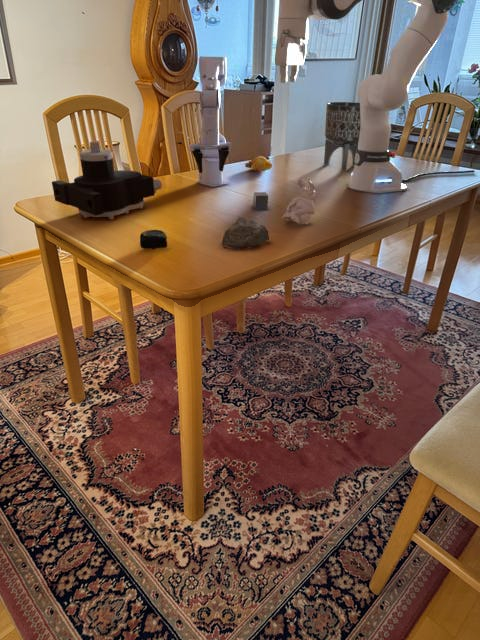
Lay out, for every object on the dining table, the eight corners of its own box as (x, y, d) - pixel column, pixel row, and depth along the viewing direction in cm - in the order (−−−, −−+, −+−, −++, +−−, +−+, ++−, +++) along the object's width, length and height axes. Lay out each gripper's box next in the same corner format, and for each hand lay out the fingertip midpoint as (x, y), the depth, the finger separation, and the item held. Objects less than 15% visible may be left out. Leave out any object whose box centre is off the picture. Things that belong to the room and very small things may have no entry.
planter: (313, 167, 208) (319, 103, 195) (331, 160, 222) (338, 101, 209) (353, 173, 199) (362, 107, 185) (369, 166, 213) (379, 104, 199)
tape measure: (140, 252, 115) (139, 238, 113) (141, 242, 120) (140, 229, 119) (167, 251, 116) (166, 237, 114) (167, 241, 121) (166, 228, 120)
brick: (255, 210, 149) (255, 195, 146) (252, 206, 153) (253, 192, 150) (267, 209, 149) (268, 195, 147) (264, 206, 153) (265, 192, 151)
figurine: (321, 218, 142) (325, 177, 135) (298, 231, 131) (302, 187, 125) (298, 213, 146) (301, 173, 139) (274, 225, 135) (277, 182, 128)
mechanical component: (44, 141, 131) (128, 131, 151) (57, 212, 142) (134, 194, 162) (86, 151, 119) (172, 139, 139) (97, 228, 130) (175, 206, 150)
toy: (243, 164, 194) (247, 156, 207) (248, 178, 197) (252, 170, 210) (268, 155, 191) (270, 148, 204) (272, 170, 194) (275, 162, 206)
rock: (255, 233, 128) (256, 211, 124) (276, 242, 122) (278, 219, 119) (217, 244, 120) (217, 220, 117) (239, 254, 115) (239, 230, 111)
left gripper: (193, 132, 146) (194, 175, 153) (234, 130, 151) (234, 172, 158) (186, 129, 152) (188, 171, 159) (227, 127, 157) (227, 168, 164)
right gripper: (292, 29, 128) (287, 83, 135) (310, 33, 145) (306, 82, 152) (271, 28, 130) (268, 82, 137) (292, 33, 147) (288, 81, 154)
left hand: (210, 171), depth 159 cm, fingers open, 7 cm apart
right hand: (288, 82), depth 144 cm, fingers open, 8 cm apart
